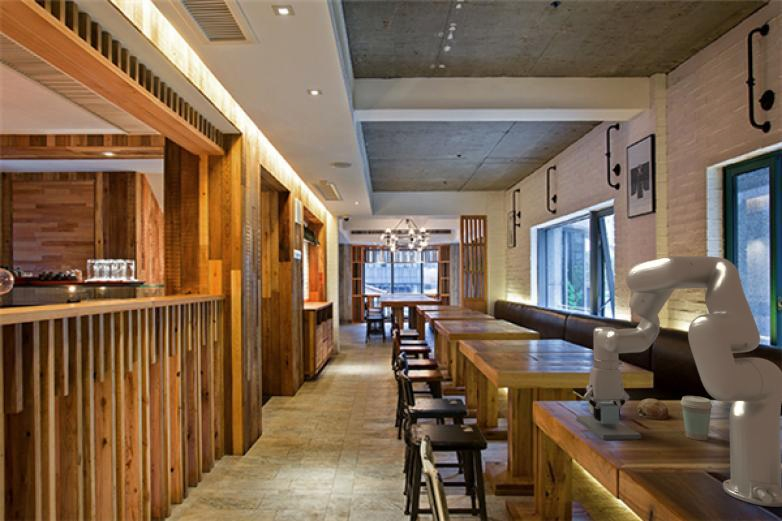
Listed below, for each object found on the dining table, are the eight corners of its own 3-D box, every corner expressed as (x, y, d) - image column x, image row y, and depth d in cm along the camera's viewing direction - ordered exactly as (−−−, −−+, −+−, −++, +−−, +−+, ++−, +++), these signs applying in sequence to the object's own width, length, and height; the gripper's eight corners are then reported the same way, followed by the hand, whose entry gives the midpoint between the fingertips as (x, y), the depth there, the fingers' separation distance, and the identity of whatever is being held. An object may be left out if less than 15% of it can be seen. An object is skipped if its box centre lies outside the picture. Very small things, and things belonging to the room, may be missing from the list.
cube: (619, 423, 161) (618, 406, 161) (602, 423, 160) (602, 406, 161) (610, 418, 166) (610, 402, 166) (594, 418, 166) (594, 402, 166)
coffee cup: (718, 442, 150) (717, 403, 151) (687, 440, 152) (686, 401, 152) (706, 433, 159) (705, 396, 159) (676, 432, 160) (676, 394, 161)
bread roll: (635, 423, 182) (628, 404, 181) (652, 408, 186) (645, 389, 185) (659, 431, 173) (652, 411, 172) (677, 415, 177) (670, 395, 176)
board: (641, 439, 153) (641, 434, 154) (603, 439, 153) (603, 434, 153) (610, 420, 173) (610, 415, 174) (576, 420, 173) (576, 416, 173)
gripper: (625, 362, 168) (626, 416, 167) (575, 362, 167) (576, 416, 167) (637, 366, 160) (638, 423, 160) (585, 367, 160) (586, 423, 159)
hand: (606, 419), depth 163 cm, fingers closed on cube, 5 cm apart
